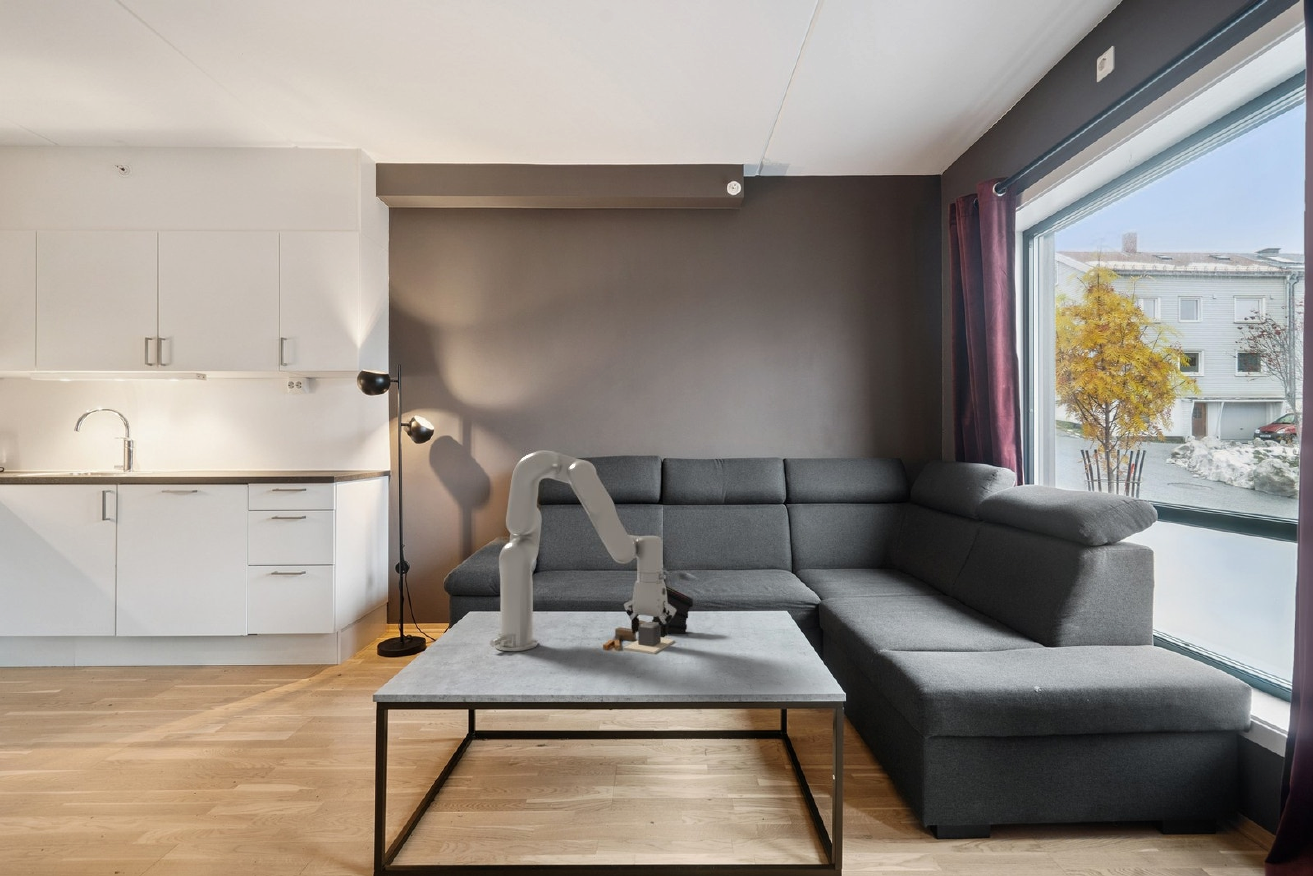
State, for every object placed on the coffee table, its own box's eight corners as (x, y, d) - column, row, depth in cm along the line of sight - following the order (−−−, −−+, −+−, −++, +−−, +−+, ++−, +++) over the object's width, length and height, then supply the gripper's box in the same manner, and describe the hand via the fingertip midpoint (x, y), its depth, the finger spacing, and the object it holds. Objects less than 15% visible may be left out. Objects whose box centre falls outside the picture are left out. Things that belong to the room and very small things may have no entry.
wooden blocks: (632, 641, 200) (632, 631, 200) (615, 638, 203) (615, 629, 203) (651, 631, 212) (651, 621, 212) (635, 628, 214) (635, 619, 214)
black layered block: (643, 625, 212) (662, 584, 212) (679, 643, 211) (699, 602, 211) (642, 628, 208) (662, 586, 208) (679, 646, 208) (699, 604, 208)
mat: (654, 654, 187) (654, 652, 187) (624, 649, 191) (624, 647, 191) (674, 641, 199) (674, 639, 199) (646, 637, 204) (646, 635, 204)
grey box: (653, 646, 192) (653, 626, 192) (638, 644, 194) (638, 624, 195) (660, 642, 197) (660, 622, 197) (646, 640, 199) (646, 620, 199)
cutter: (619, 650, 191) (619, 645, 191) (602, 650, 191) (602, 645, 191) (625, 639, 202) (625, 635, 202) (609, 639, 202) (609, 634, 202)
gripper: (680, 577, 195) (680, 634, 195) (630, 572, 203) (630, 627, 203) (670, 581, 189) (670, 641, 188) (618, 576, 197) (618, 633, 196)
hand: (649, 634), depth 196 cm, fingers open, 9 cm apart
